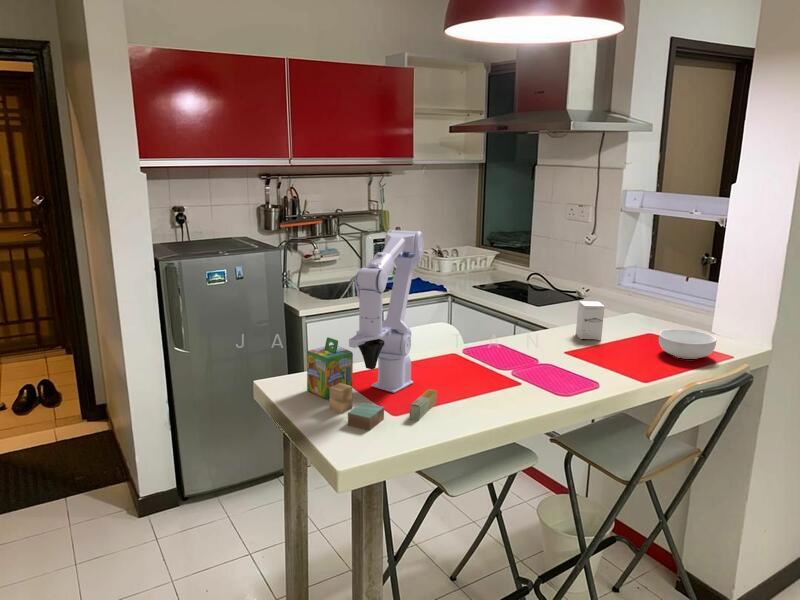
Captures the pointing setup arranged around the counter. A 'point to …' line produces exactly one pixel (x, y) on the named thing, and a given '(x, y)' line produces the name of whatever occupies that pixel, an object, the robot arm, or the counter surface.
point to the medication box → (423, 404)
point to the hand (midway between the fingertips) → (370, 368)
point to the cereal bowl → (687, 343)
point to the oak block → (340, 398)
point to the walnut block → (365, 416)
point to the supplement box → (590, 320)
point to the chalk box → (328, 368)
